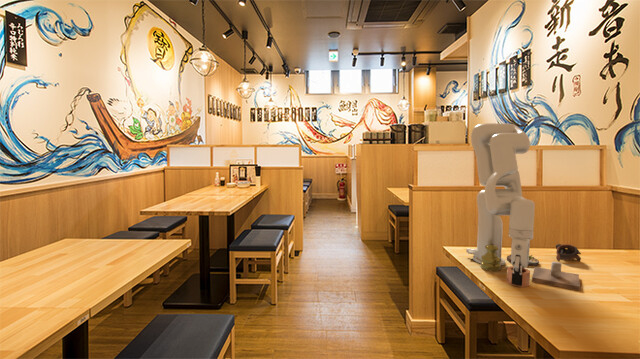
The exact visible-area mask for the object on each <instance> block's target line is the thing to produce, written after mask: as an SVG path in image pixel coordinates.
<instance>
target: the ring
mask: <svg viewBox="0 0 640 359" xmlns="http://www.w3.org/2000/svg"><path fill="white" fill-rule="evenodd" d="M519 269H520V268H519ZM512 273H513V265H511V266H508V267H507V269H506V283H507V284H508V285H511V286H515V287H520V288H528V287H530V280H531V270H529V269H528V268H525V267H524V268H522V275H523V277H522V286H519V285H514V284H512V283H511V282H512Z"/></svg>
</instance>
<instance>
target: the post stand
mask: <svg viewBox="0 0 640 359" xmlns="http://www.w3.org/2000/svg"><path fill="white" fill-rule="evenodd" d="M531 282H532V283H533V282H534V283H539V284H544V285H549V286H553V287H558V288H564V289H568V290H569V289H570V290H574V291H578V292H580V289H581V284H580V283H581V282H580V274H578V273H574V272H573V273H572V272H566V271H562V262H560V261H551V268H544V267H538V266H535V267H533V273H532V275H531Z"/></svg>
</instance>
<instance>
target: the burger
mask: <svg viewBox="0 0 640 359" xmlns="http://www.w3.org/2000/svg"><path fill="white" fill-rule="evenodd" d="M506 261H507V262H510V263H511V254H509V255H507V256H506ZM539 262H540V261H539V259H537V258H535V256H533V255H529V263H528V266H535V267H537V266H539V265H540V263H539ZM536 265H537V266H536ZM528 266H527V267H528Z"/></svg>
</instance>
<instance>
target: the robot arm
mask: <svg viewBox="0 0 640 359" xmlns="http://www.w3.org/2000/svg"><path fill="white" fill-rule="evenodd" d="M470 139H471V140H470V142H471V145H472V149H473V151H474V154H475V158H476V167H477V176H478V181H479V184H480V185H482V186H484V189H482V190H480V191H478V193H477V196H476V203H477V204H476V205H477V213H478V217H477V218H478V222H477V241H476V244H477V245H476V248H474V249H473V248H468V247H466V253H467V254H468V255H473V256H472V260H473V261H474V262H475V263H477V264H481V261H482V260H481V256H482V255H484V254H485V253H487V252H488V250H487V249H486V248H485V246H486V245H490V244H494V245H495V246H497V247H498V248H499V249H498V250H497V251H496V252H495V253H496V255H498V256H499V257H500V258H501V263H500V264H501V266H503V265H505V264H506V260H505V259H504V258H502V249H503V248H502V247H503V246H502V245H503V227H504V222H503V220H502V217H501V216H509V224H508V237H509V238H511V250H510V251H511V254H510V255H511V262H510V264H511V266H513V273H512V282H511V283H512V284H514V285H519V286H522V277H523V275H522V268H525V269H527V268H528V263H529V256H530V242H531V241H532V240H534V228H535V227H534V226H535V208H536V203H535V202H534V201H533V200H532V199H529V198H528V199H527V198H525V197H523V191H522V182H521V177H520V171H519V170H518V169H519V165H518V160H517V156H516V155H517V154H519V155H521V154H522V155H523V154H526V153H528V152H529V150H530V147H531V142H530V141H531V140H530V138H529V136H528V134H527V133H526V132H525V131H523V129H521V128H520V127H519V126H517V125H516V124H514V123H498V122H497V123H496V122H495V123H492V122H491V123H479V124H477V125H475V126H474V127H473V128H472V130H471V134H470ZM497 187H501V188H497ZM502 187H504V188H502ZM519 268H520V269H519ZM514 285H513V286H514Z"/></svg>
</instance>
